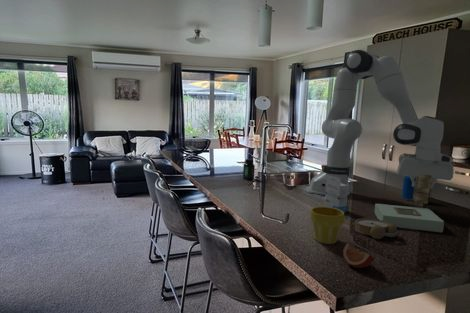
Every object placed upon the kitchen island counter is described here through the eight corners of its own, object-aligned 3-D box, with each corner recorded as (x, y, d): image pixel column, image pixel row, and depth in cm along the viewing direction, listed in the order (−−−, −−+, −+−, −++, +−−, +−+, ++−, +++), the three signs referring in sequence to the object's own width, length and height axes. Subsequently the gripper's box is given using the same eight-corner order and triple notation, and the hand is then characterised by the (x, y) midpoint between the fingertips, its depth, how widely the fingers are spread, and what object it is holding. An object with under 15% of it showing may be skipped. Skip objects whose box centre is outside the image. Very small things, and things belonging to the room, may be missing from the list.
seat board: (382, 225, 116) (383, 214, 115) (374, 212, 131) (375, 202, 130) (442, 232, 111) (444, 220, 110) (427, 218, 126) (428, 208, 125)
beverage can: (418, 201, 151) (421, 177, 149) (403, 200, 152) (406, 176, 150) (413, 198, 157) (416, 174, 155) (399, 197, 158) (402, 174, 157)
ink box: (346, 212, 130) (349, 178, 128) (338, 213, 128) (340, 178, 126) (332, 206, 138) (335, 174, 136) (323, 207, 136) (326, 174, 134)
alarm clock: (371, 217, 116) (406, 224, 102) (372, 230, 116) (407, 239, 102) (347, 219, 112) (380, 227, 98) (348, 233, 112) (381, 243, 98)
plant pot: (304, 233, 105) (306, 205, 104) (334, 233, 106) (336, 206, 105) (315, 246, 95) (317, 216, 94) (347, 246, 96) (350, 216, 94)
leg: (415, 202, 131) (419, 174, 129) (412, 199, 135) (416, 172, 134) (427, 203, 130) (432, 175, 128) (424, 201, 134) (428, 173, 132)
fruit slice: (337, 260, 87) (338, 243, 86) (355, 256, 89) (357, 240, 89) (358, 275, 79) (360, 256, 78) (378, 270, 82) (380, 253, 81)
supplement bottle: (246, 180, 185) (247, 160, 183) (241, 178, 191) (241, 158, 189) (256, 179, 188) (257, 160, 187) (250, 177, 194) (251, 158, 193)
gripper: (401, 153, 130) (396, 185, 131) (457, 158, 124) (451, 192, 126) (398, 152, 136) (393, 183, 137) (451, 157, 130) (446, 189, 132)
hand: (421, 187), depth 132 cm, fingers closed on leg, 4 cm apart
